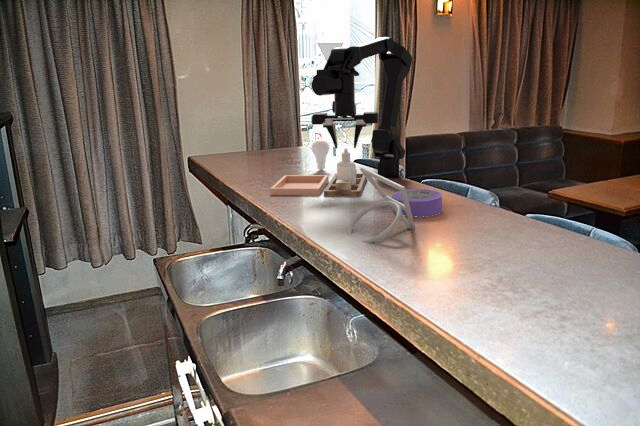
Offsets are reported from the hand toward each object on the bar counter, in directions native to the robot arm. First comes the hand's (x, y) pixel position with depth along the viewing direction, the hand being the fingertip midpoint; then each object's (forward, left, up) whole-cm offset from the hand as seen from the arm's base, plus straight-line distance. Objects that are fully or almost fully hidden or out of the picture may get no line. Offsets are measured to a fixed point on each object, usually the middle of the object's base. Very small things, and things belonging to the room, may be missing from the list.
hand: (345, 148), depth 153 cm
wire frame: (-15, +44, -15) cm, 49 cm away
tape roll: (-20, +27, -12) cm, 36 cm away
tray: (+13, +2, -12) cm, 18 cm away
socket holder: (0, 0, -12) cm, 12 cm away
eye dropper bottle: (0, +1, -12) cm, 12 cm away
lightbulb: (+12, -27, -12) cm, 32 cm away
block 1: (0, +8, -12) cm, 15 cm away
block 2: (0, -8, -12) cm, 15 cm away
